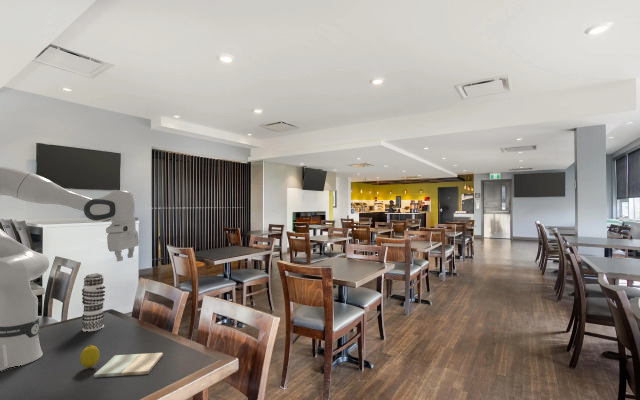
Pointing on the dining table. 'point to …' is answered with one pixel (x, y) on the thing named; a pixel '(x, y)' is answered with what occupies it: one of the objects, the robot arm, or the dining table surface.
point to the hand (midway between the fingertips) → (125, 259)
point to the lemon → (89, 356)
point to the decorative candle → (93, 302)
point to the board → (129, 365)
